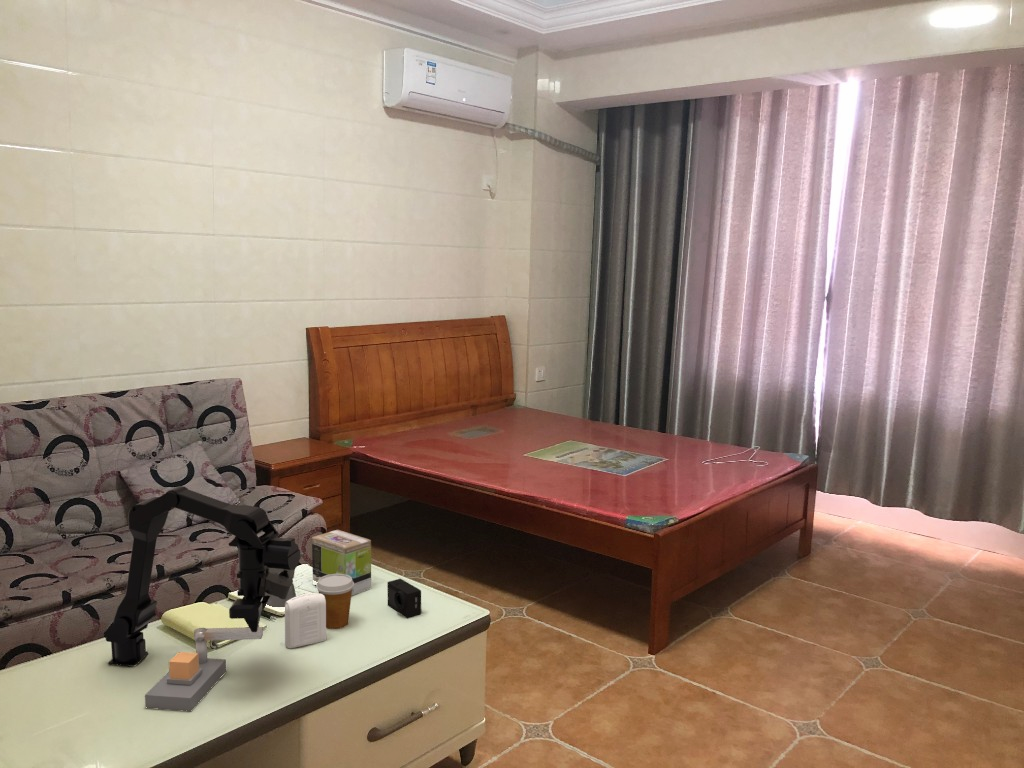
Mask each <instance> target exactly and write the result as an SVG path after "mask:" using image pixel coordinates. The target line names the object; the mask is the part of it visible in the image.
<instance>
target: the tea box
mask: <svg viewBox="0 0 1024 768" xmlns="http://www.w3.org/2000/svg"><path fill="white" fill-rule="evenodd" d="M311 556H312V557H311V558H312V561H311V562H312V563H311V565H312V581H313V580H314V581H316V582H318V580H319V579H320V578H321V577H323V576H326V575H330V574H345V575H348V576H350V577H351V578H352V580H353V582H354V586H353V588H352V595H351V597H352V596H356V595H357V594H360V593H364V592H365V591H368V590H370V589H372V540H371V539H369V538H366V537H362V536H360V535H356V534H353V533H350V532H346V531H343V530H340V529H336V530H335V529H334V530H332V531H329V532H325V533H321V534H318V535H315V536H312V537H311Z"/></svg>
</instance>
